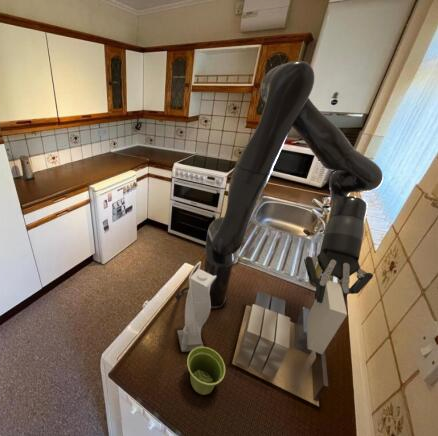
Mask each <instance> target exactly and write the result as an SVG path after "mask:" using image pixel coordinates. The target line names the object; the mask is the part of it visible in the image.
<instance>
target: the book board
mask: <svg viewBox="0 0 438 436" xmlns="http://www.w3.org/2000/svg"><path fill="white" fill-rule="evenodd" d="M310 310H311V308H308V307H305V306H303V307H302V308H301V310H300V313H299V314H298V316H297V318H296V320H295V322H293V321H291V317H289V316H286V314H285V313H286V300H285V299H282V298H280V297H276V296H273V295H271V294H268V293H265V292H262V291H259V290H257V292H256V295H255V297H254V301H253V304H252V305H251V306H250V305H248V304H246V306H245V309H244V314H243V318H242V322H241V326H240V330H239V334H238V339H237V343H236V346H235V351H234V354H233V359H232V363H231V364H232V365H234V366H236V367H238V368H239V369H242V370H244V371H246V372H248V373H249V374H251V375H254V376H256V377H258V378H260V379H262V380H264V381H266V382H268V383H271V384H272V385H275V386H277V387H279V388H281V389H282V390H284V391H287V392H289V393H291V394H292V395H294V396H296V397H299V398H300V399H303V400H305V401H307V402H309V403H311V404H313V405H315V406H317V407H320V400H321V398H322V397H323V396H324V394H325V393H326V392H327V390H328V389H329V378H328V377H329V376H328V367H327V359H326V350H325V351H324V352H323V354H319V353H317V352H315V351H312V350H310V349H308V346H307V319H306V318H307V316H308V314H309V312H310Z"/></svg>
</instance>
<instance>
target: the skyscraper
mask: <svg viewBox="0 0 438 436" xmlns="http://www.w3.org/2000/svg"><path fill="white" fill-rule="evenodd" d="M201 264H202V261H201V260H200V261H198V262H197V263H196V264H195V266H194V267H193V268H192V269H191V272H190V274H189V276H188V283H189V286H188V287H189V289H187V294H186V300H185V305H184V306H185V307H184V327H183V329H178V330H176V333H177V338H178V342H179V347H180V350H181V352H182V353H187V352H191V351H192V350H193V349H195V348H197V347H205V346H204V343H203V340H202V336H201V335H202V328H203V326H204V324H206V322H207V320H208V318H209V317H210V314H211V309H212V308H211V300H210V294H209V293H210V287H211V284H212V283H213V281H214V280H215V279H216V275H215V276H213V275H211V274H209V273H207V272H205V271H203V270H204V269H201ZM195 269H196V271H195ZM194 271H195V272H194Z"/></svg>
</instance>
